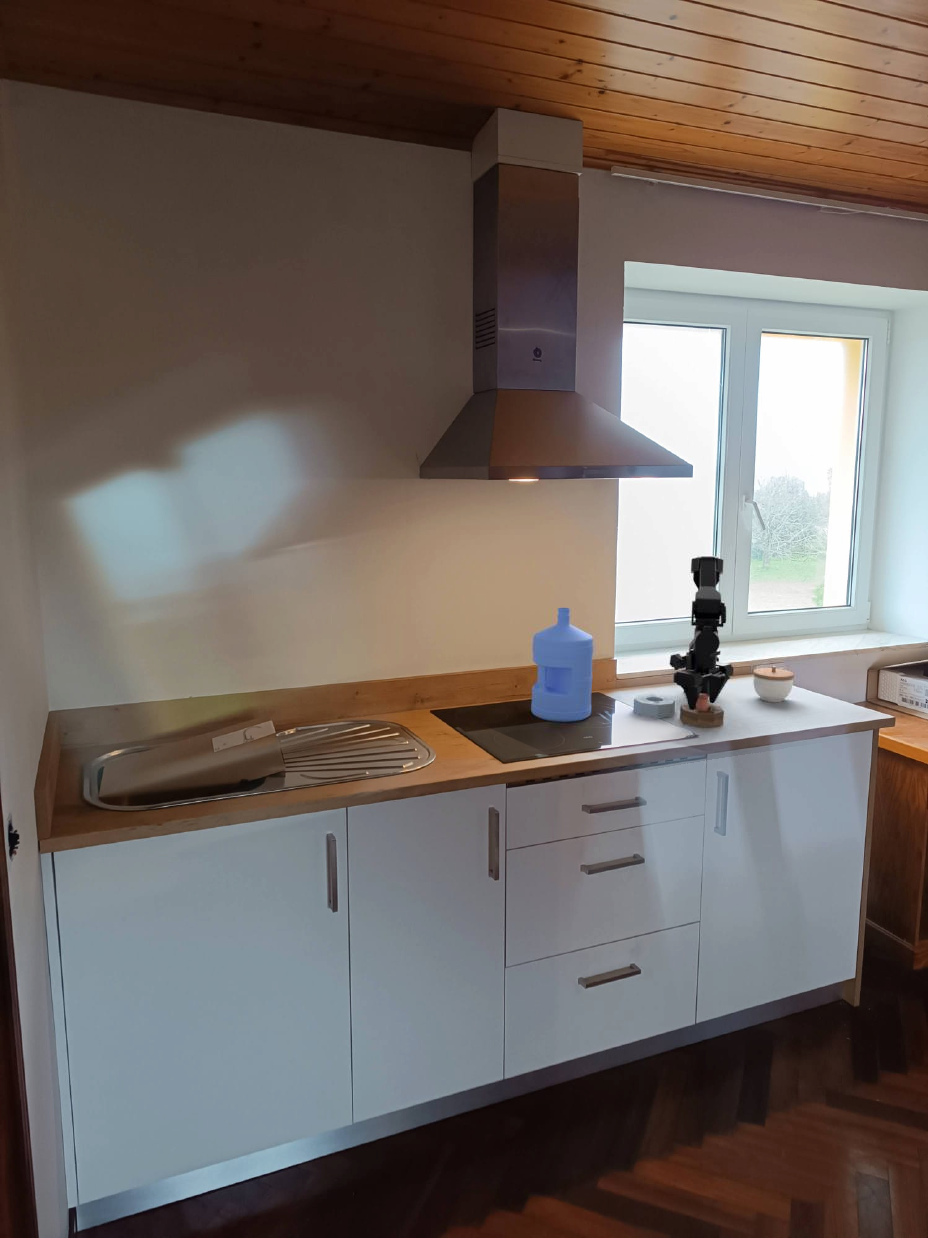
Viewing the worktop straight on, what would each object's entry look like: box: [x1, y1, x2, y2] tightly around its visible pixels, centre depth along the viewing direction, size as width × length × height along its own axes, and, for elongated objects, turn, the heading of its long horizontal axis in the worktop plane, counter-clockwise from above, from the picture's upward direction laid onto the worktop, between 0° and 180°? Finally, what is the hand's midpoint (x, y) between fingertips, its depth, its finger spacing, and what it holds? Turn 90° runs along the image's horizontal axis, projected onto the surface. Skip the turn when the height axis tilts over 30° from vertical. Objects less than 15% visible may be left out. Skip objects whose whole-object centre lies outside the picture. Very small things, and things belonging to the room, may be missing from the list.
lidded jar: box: [752, 665, 795, 703], centre depth 239 cm, size 11×11×9 cm
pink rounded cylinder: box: [696, 693, 709, 711], centre depth 217 cm, size 3×3×7 cm
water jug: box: [530, 607, 594, 723], centre depth 221 cm, size 16×16×28 cm
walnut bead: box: [679, 702, 725, 728], centre depth 218 cm, size 10×10×4 cm
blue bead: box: [632, 693, 676, 719], centre depth 226 cm, size 10×10×4 cm
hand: (701, 706), depth 217 cm, fingers open, 9 cm apart
